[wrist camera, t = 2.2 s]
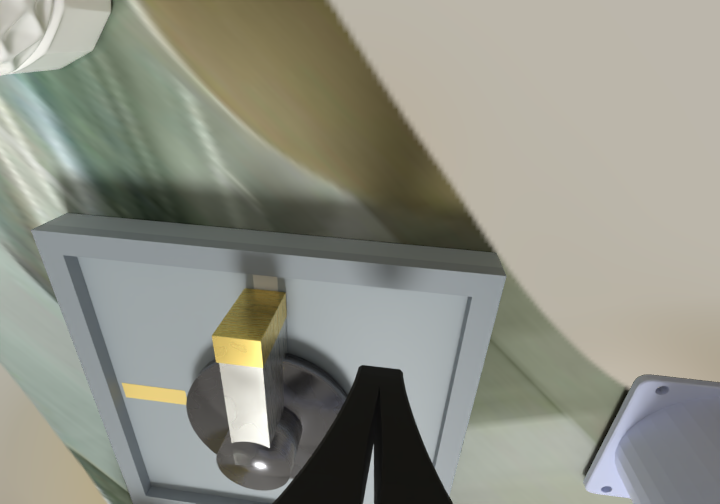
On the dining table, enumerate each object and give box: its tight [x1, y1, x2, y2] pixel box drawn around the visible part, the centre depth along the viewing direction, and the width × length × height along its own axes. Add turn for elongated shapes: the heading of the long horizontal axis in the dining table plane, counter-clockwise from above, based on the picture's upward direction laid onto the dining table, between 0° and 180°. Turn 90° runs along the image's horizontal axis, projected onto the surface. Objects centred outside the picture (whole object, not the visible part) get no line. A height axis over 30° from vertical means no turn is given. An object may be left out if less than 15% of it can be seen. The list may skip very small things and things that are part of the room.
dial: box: [186, 288, 348, 491], centre depth 17 cm, size 11×8×3 cm
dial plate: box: [31, 213, 506, 504], centre depth 19 cm, size 18×18×2 cm
